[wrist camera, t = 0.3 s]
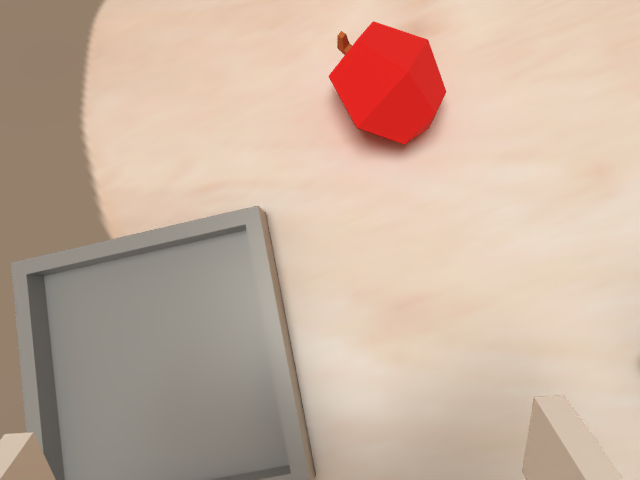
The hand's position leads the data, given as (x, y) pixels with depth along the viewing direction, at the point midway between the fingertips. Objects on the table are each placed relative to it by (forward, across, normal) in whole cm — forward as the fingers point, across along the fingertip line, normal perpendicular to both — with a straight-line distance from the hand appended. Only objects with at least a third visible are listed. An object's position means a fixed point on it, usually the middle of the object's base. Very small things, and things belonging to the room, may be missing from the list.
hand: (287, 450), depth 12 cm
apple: (+23, -6, -5) cm, 25 cm away
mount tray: (+15, +10, +9) cm, 20 cm away
